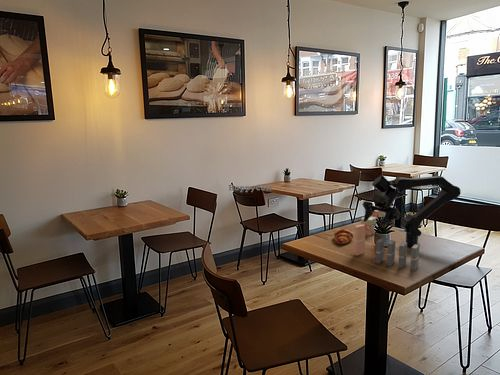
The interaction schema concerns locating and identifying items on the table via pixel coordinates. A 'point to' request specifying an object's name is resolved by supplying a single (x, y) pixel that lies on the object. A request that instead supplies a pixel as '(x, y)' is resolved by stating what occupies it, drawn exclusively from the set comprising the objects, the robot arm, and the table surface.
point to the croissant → (343, 236)
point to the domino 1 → (359, 240)
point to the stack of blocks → (372, 222)
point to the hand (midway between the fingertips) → (372, 223)
